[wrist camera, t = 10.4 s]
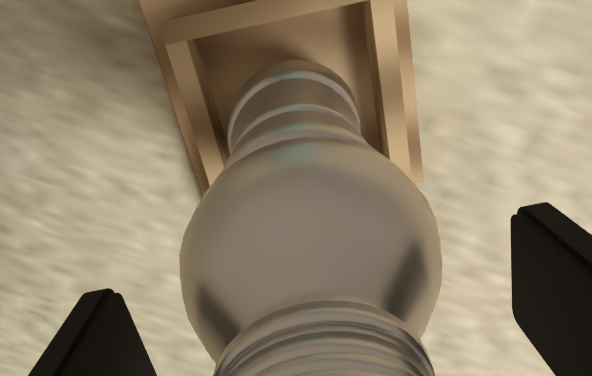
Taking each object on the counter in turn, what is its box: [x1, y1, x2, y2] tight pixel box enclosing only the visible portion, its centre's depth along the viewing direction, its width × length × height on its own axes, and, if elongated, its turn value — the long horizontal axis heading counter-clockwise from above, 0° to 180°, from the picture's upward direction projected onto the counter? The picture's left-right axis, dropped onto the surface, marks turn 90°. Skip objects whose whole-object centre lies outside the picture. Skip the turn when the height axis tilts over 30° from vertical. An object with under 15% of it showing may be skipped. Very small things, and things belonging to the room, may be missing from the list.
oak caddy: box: [139, 0, 423, 195], centre depth 22 cm, size 19×13×4 cm
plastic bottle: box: [179, 60, 442, 376], centre depth 15 cm, size 6×7×20 cm
